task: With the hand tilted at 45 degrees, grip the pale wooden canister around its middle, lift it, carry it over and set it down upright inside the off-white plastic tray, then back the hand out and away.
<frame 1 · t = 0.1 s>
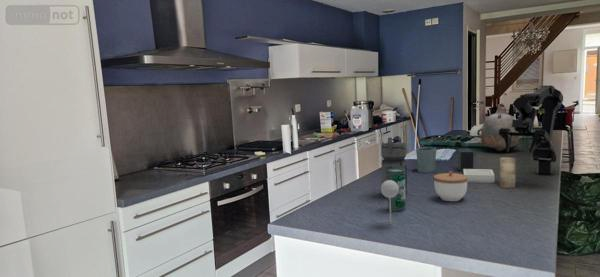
hand: (518, 152, 176), 15 cm above the counter, tool tilted 35°, fingers open, 9 cm apart
lollipop: (390, 224, 140), on the counter
jug: (500, 151, 261), on the counter
lidded bowl: (450, 199, 165), on the counter
small box: (465, 170, 215), on the counter
beverage bottle: (395, 195, 175), on the counter
tray: (478, 179, 193), on the counter
can: (396, 209, 156), on the counter
drinking glass: (426, 171, 217), on the counter
canister: (507, 185, 179), on the counter
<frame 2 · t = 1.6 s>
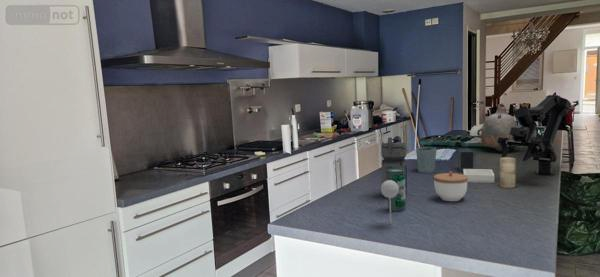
hand: (512, 159, 180), 11 cm above the counter, tool tilted 45°, fingers open, 9 cm apart
nothing on the counter moved.
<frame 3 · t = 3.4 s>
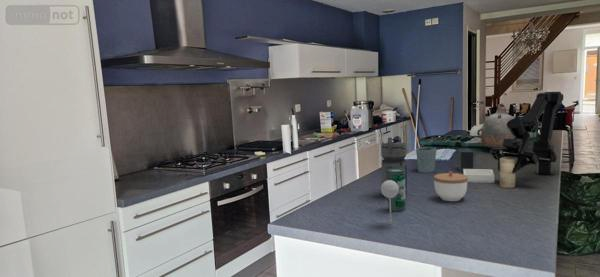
hand: (505, 171, 178), 7 cm above the counter, tool tilted 45°, fingers closed on canister, 6 cm apart
canister: (507, 185, 179), on the counter, touching gripper
everything else where it was.
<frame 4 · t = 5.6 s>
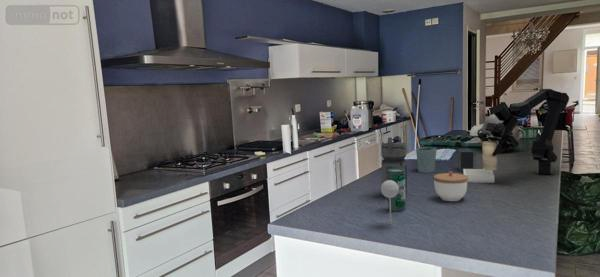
hand: (487, 154, 184), 13 cm above the counter, tool tilted 45°, fingers closed on canister, 6 cm apart
canister: (489, 168, 186), point 6 cm above the counter, touching gripper
everything else where it was.
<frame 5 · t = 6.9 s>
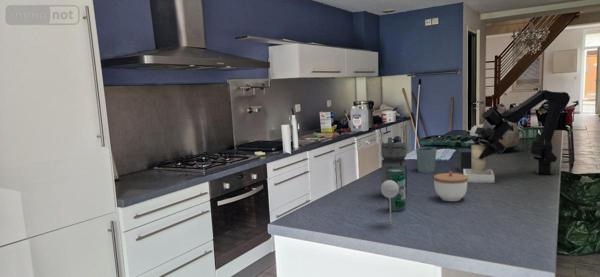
hand: (475, 157, 192), 10 cm above the counter, tool tilted 45°, fingers closed on canister, 6 cm apart
canister: (478, 171, 193), point 4 cm above the counter, touching gripper
everything else where it was.
when the fingers open (8 cm above the counter, at t = 7.8 s): canister stays where it is, resting on tray.
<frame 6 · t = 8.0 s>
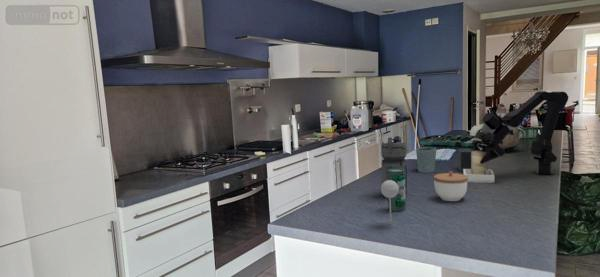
hand: (475, 161, 192), 9 cm above the counter, tool tilted 45°, fingers open, 8 cm apart
canister: (478, 177, 193), point 1 cm above the counter, touching tray
everything else where it was.
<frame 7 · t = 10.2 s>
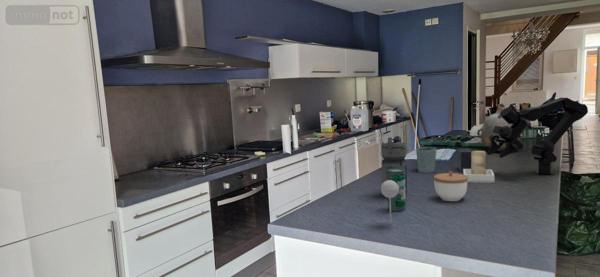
hand: (493, 155, 193), 11 cm above the counter, tool tilted 45°, fingers open, 9 cm apart
nothing on the counter moved.
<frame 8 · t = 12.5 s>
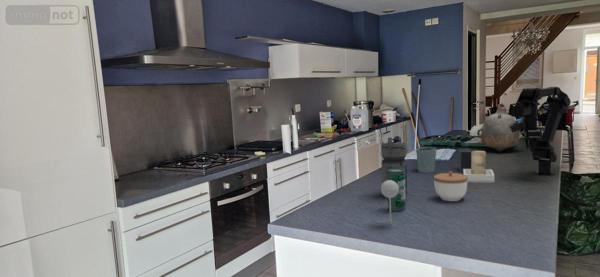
hand: (529, 149, 190), 13 cm above the counter, tool pointing down, fingers open, 9 cm apart
nothing on the counter moved.
at the end: canister inside the target area on the tray (0.1 cm from its centre), point 1.0 cm above the tray's base; canister tilted 0°; the gripper is holding nothing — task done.
